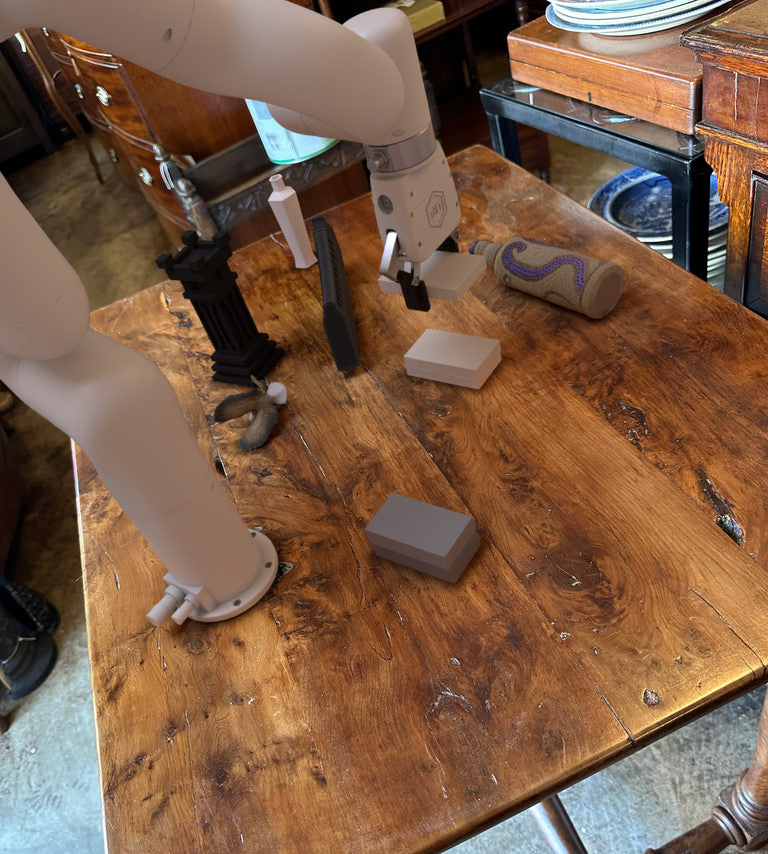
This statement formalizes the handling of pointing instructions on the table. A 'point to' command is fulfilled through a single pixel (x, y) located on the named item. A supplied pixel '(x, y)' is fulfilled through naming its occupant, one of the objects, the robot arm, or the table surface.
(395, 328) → the table surface
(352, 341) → the magazine
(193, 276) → the chess piece
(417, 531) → the grey stack
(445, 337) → the white stack
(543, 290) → the decorative bottle
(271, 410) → the eagle figurine
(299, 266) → the perfume bottle
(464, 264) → the white book
